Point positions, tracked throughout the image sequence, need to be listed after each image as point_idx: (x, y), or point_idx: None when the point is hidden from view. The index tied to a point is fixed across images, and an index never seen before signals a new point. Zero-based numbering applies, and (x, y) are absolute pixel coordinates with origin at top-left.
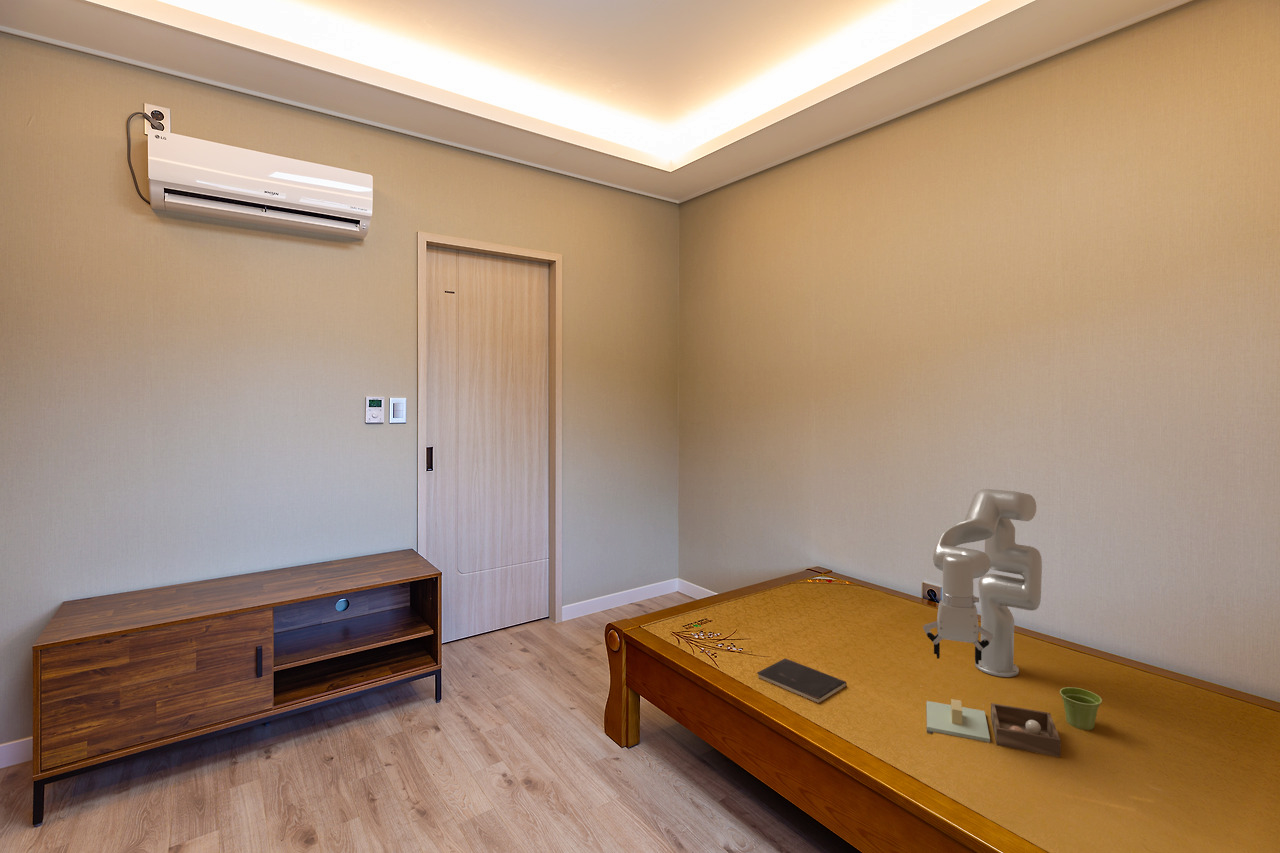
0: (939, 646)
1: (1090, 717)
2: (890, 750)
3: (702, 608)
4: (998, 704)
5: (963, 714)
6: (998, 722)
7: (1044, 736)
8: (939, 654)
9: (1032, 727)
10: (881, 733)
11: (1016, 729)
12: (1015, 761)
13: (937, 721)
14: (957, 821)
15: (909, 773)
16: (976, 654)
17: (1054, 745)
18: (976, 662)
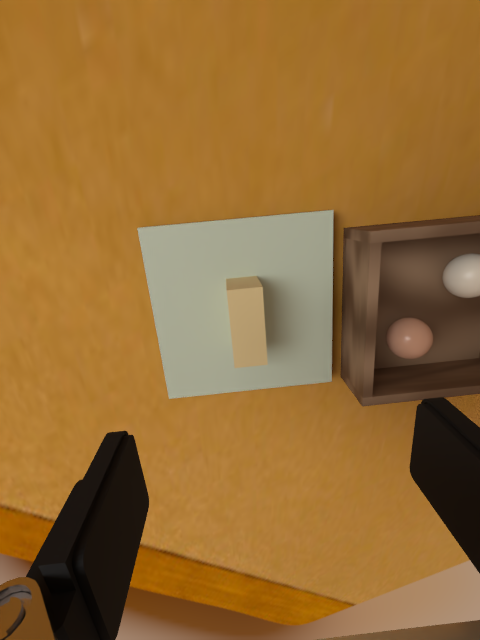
0: (115, 635)
1: None
2: None
3: None
4: (396, 230)
5: (264, 273)
6: (373, 367)
7: None
8: (140, 536)
9: (466, 296)
10: (66, 445)
11: (416, 356)
12: (374, 416)
13: (192, 355)
14: (255, 612)
15: (164, 547)
16: (471, 553)
17: None
18: (421, 481)
